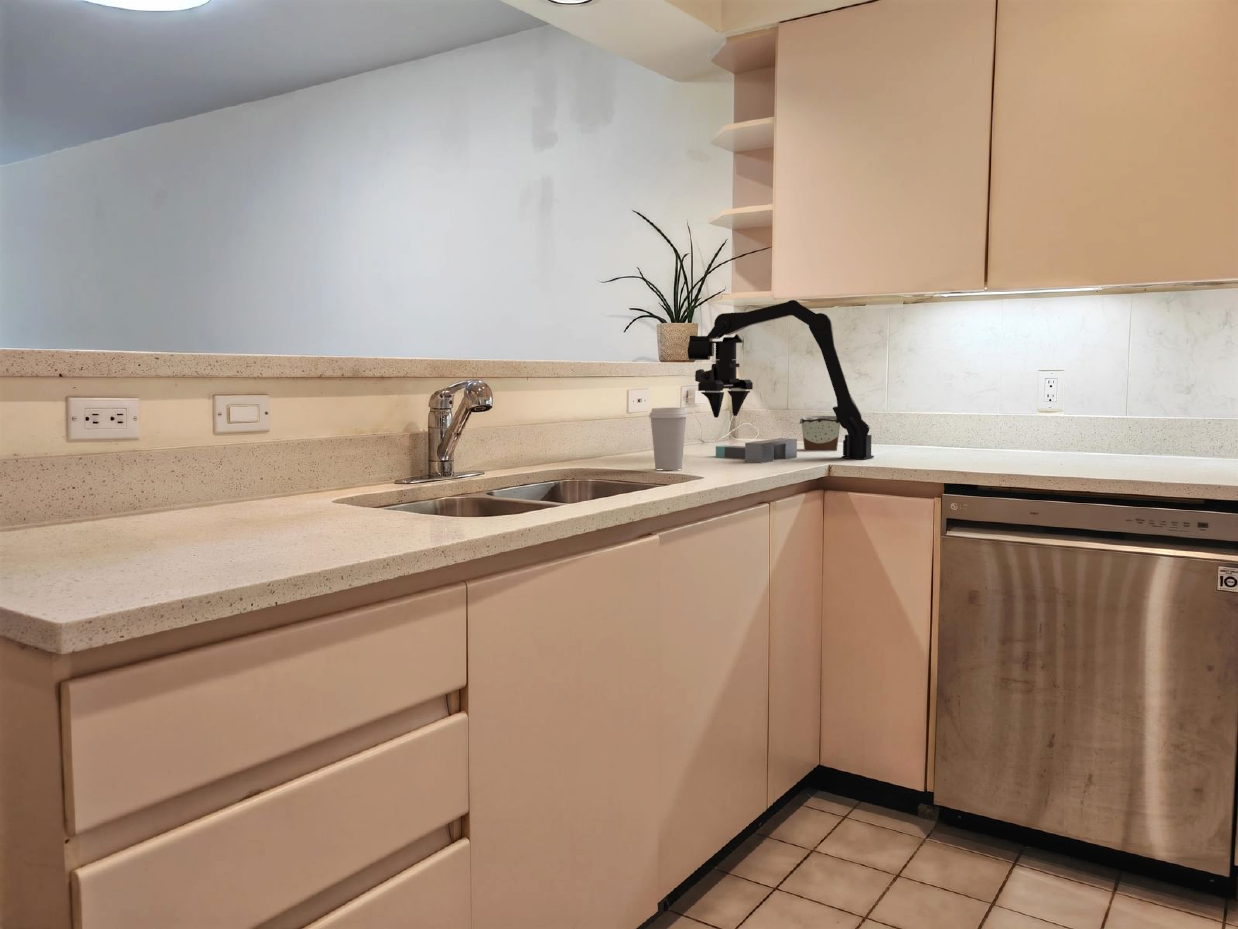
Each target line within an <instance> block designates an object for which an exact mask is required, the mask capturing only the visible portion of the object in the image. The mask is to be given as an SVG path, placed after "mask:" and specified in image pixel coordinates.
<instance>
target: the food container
mask: <svg viewBox="0 0 1238 929" xmlns="http://www.w3.org/2000/svg"><path fill="white" fill-rule="evenodd" d="M798 425H801V429H802V440H803V441H802V442H803V451H804V452H837V451H838V446H839V437H840V429H841V425H840V422H838V423H837V417H836V415H804V416H803V415H802V416H801V417H800V419H799V424H798Z"/></svg>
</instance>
